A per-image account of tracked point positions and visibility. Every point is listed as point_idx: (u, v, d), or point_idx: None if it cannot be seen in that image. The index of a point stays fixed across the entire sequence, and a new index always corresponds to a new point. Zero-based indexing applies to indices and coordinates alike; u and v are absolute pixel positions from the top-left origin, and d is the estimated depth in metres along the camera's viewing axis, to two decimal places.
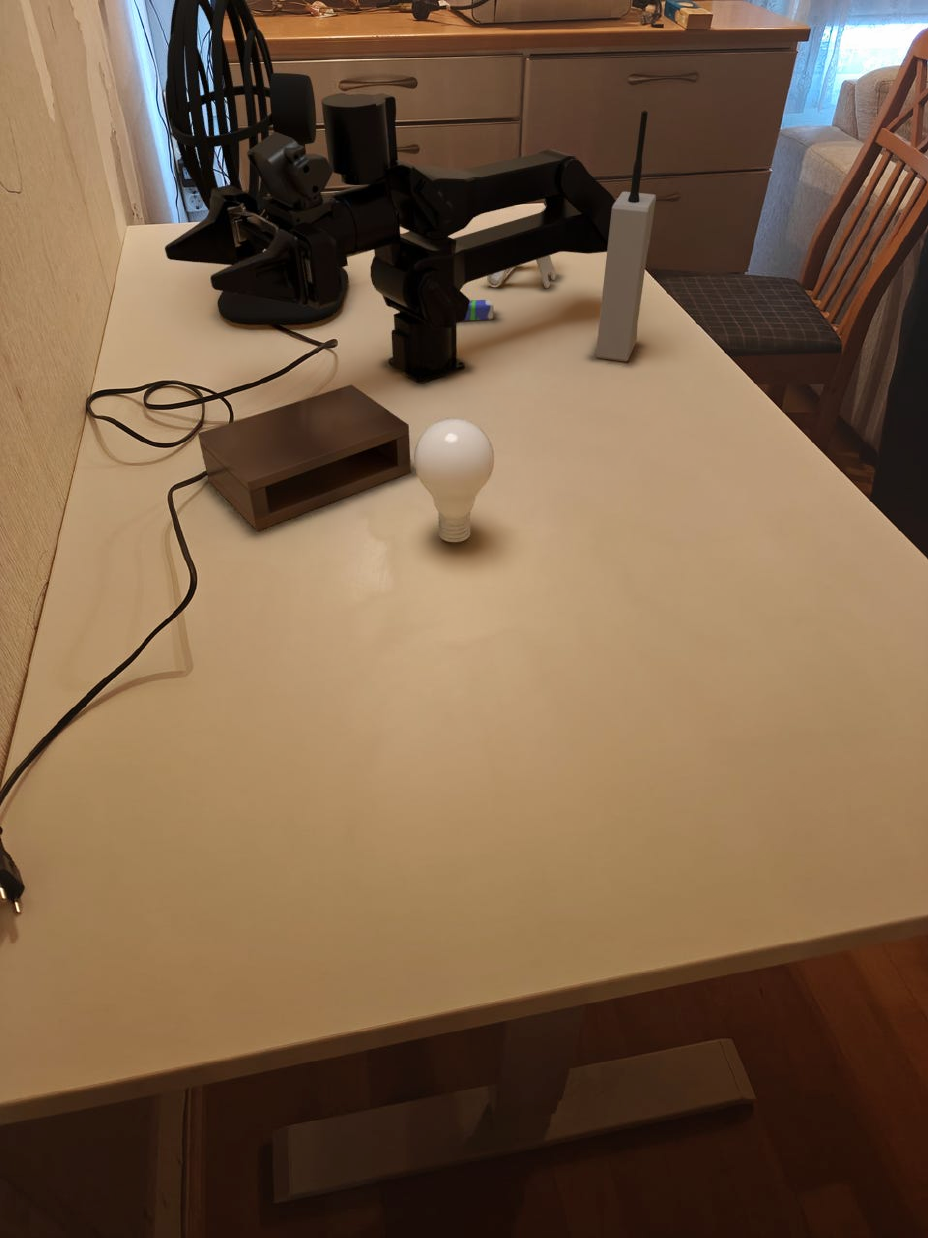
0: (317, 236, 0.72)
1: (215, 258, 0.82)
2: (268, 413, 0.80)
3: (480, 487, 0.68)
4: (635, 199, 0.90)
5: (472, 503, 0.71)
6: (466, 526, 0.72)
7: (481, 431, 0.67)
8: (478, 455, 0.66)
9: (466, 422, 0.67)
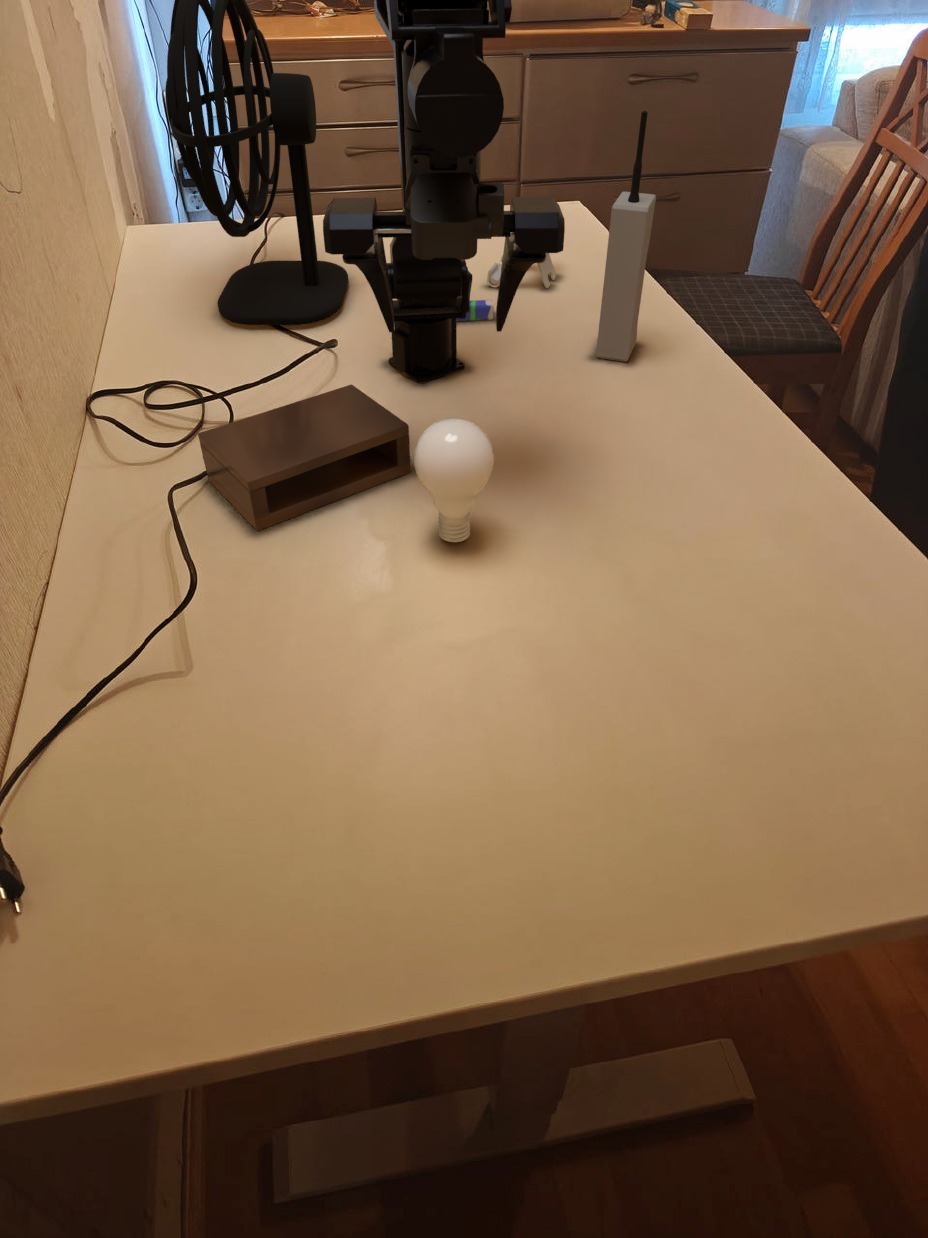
0: (559, 240, 0.67)
1: (387, 269, 0.73)
2: (268, 413, 0.80)
3: (480, 487, 0.68)
4: (635, 199, 0.90)
5: (472, 503, 0.71)
6: (466, 526, 0.72)
7: (481, 431, 0.67)
8: (478, 455, 0.66)
9: (466, 422, 0.67)
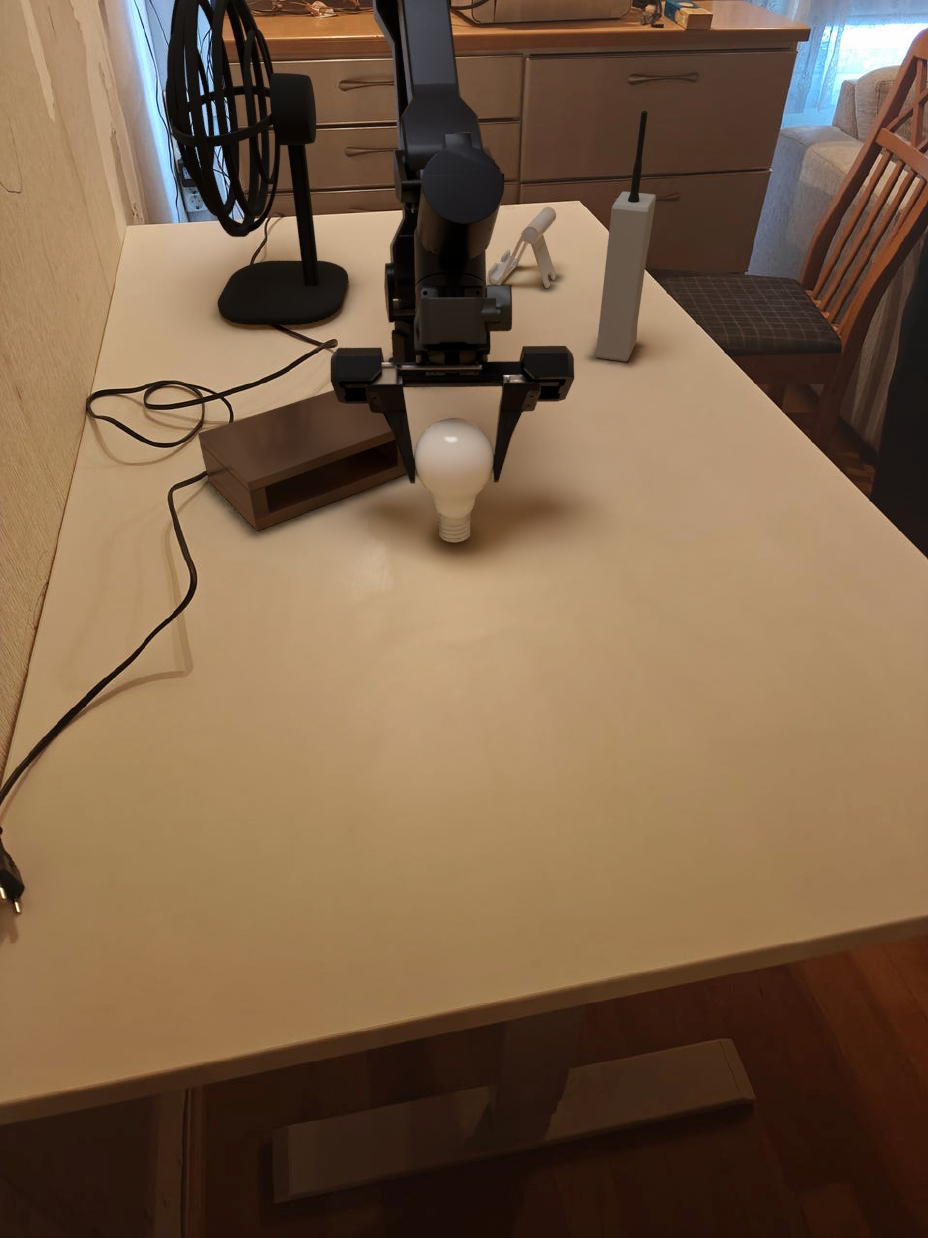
0: (569, 365, 0.66)
1: None
2: (268, 413, 0.80)
3: (480, 487, 0.68)
4: (635, 199, 0.90)
5: (472, 503, 0.71)
6: (466, 526, 0.72)
7: (481, 431, 0.67)
8: (478, 455, 0.66)
9: (466, 422, 0.67)
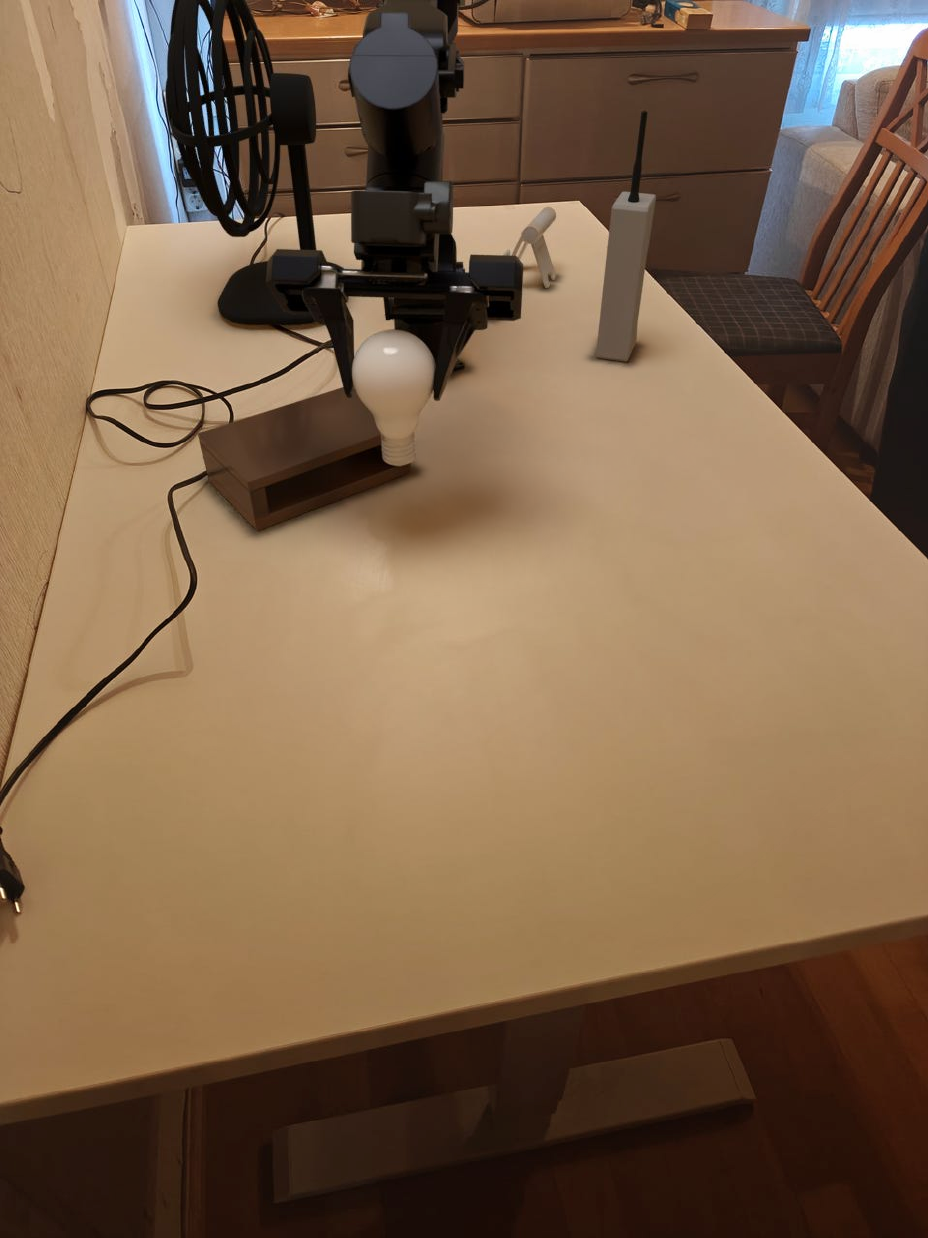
0: (516, 275, 0.62)
1: (353, 344, 0.67)
2: (268, 413, 0.80)
3: (418, 404, 0.65)
4: (635, 199, 0.90)
5: (413, 423, 0.67)
6: (408, 448, 0.68)
7: (422, 344, 0.64)
8: (414, 368, 0.63)
9: (406, 333, 0.64)
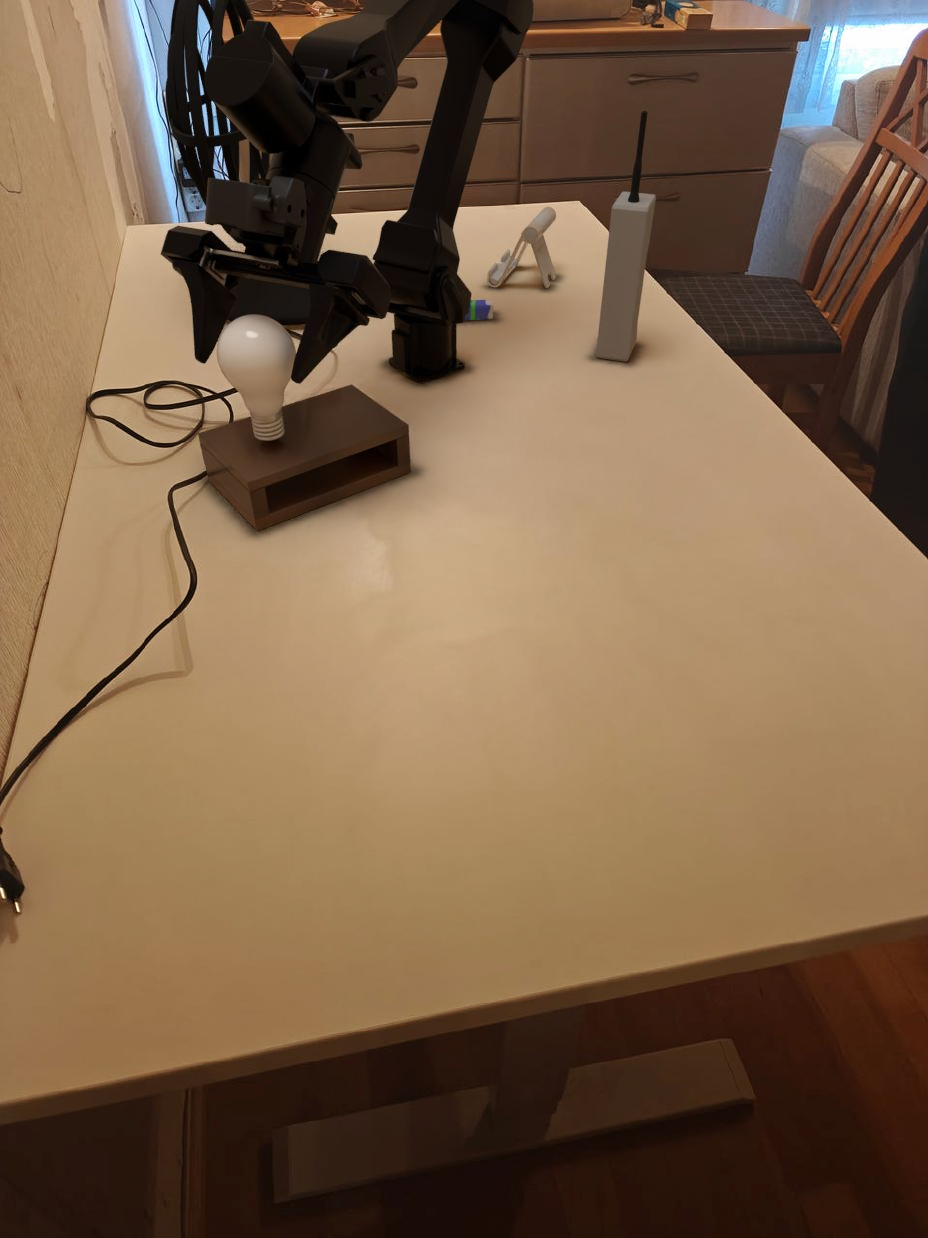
0: (357, 273, 0.65)
1: (224, 317, 0.74)
2: None
3: (267, 385, 0.70)
4: (635, 199, 0.90)
5: (272, 403, 0.73)
6: (270, 426, 0.74)
7: (276, 331, 0.69)
8: (259, 351, 0.68)
9: (265, 319, 0.69)
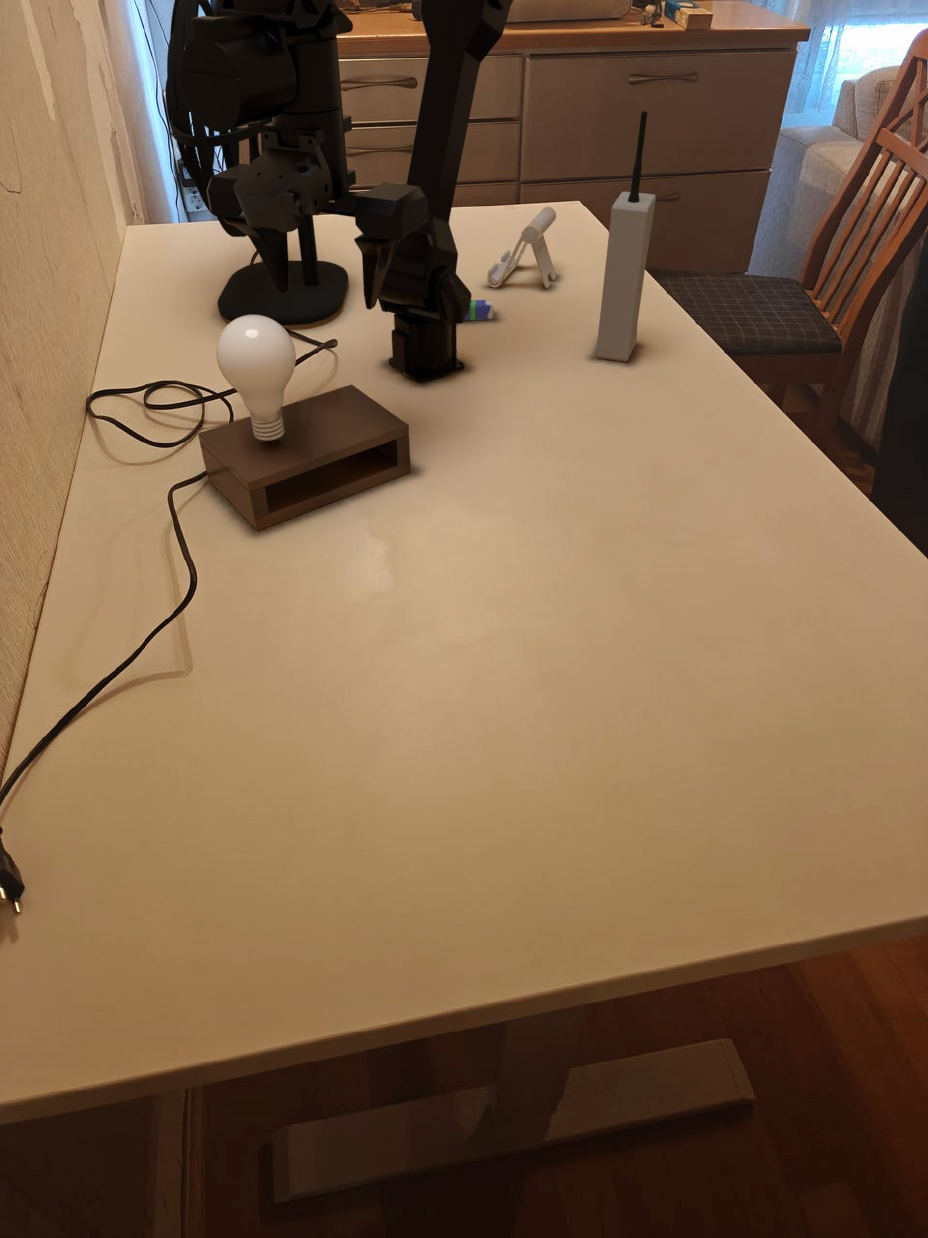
0: (394, 227, 0.70)
1: (284, 235, 0.79)
2: None
3: (266, 386, 0.70)
4: (635, 199, 0.90)
5: (271, 403, 0.73)
6: (270, 426, 0.74)
7: (276, 331, 0.69)
8: (258, 351, 0.68)
9: (264, 320, 0.69)
